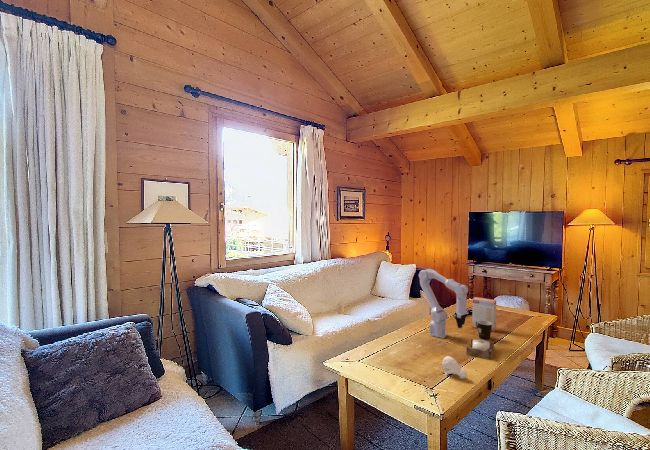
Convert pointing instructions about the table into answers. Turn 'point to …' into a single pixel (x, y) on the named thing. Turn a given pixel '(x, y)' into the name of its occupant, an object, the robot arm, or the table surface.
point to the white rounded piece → (453, 367)
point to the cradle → (480, 351)
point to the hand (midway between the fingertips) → (461, 326)
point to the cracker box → (484, 311)
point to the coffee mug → (484, 329)
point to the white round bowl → (481, 344)
